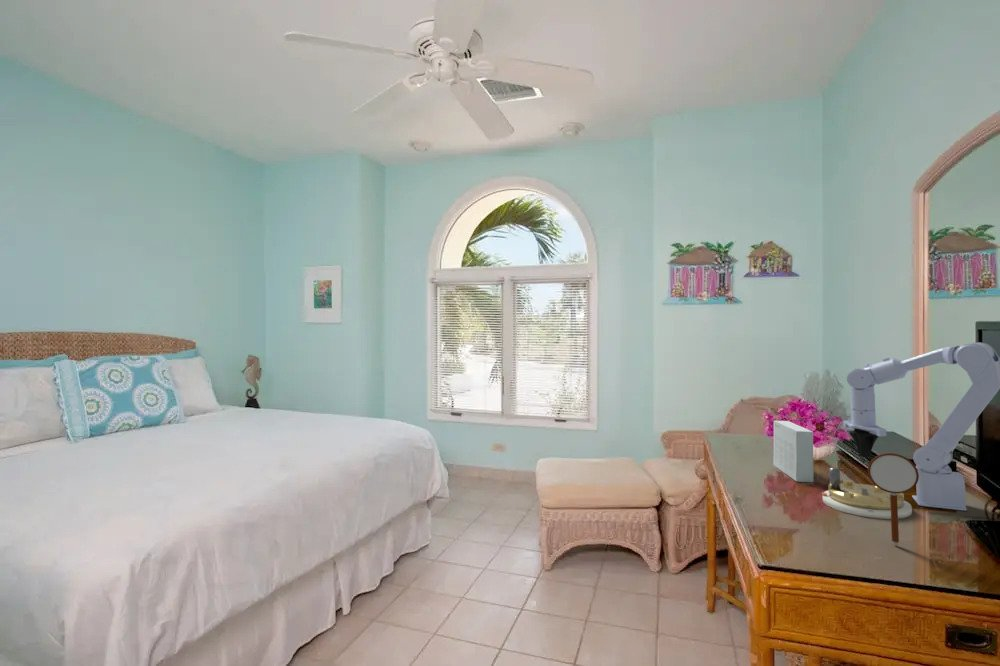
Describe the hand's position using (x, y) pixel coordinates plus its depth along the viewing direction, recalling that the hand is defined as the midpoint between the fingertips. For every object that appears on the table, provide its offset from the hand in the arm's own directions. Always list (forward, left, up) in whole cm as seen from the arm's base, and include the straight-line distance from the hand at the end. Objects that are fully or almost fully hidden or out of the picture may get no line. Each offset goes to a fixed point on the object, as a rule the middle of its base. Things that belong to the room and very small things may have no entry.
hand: (864, 456), depth 142 cm
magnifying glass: (0, +42, -10) cm, 43 cm away
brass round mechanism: (+2, +15, -8) cm, 17 cm away
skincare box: (+18, -12, -10) cm, 24 cm away
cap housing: (+2, +15, -10) cm, 18 cm away
